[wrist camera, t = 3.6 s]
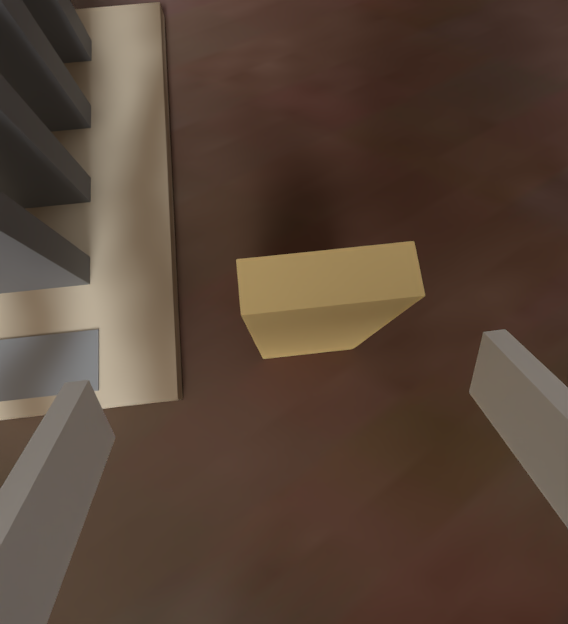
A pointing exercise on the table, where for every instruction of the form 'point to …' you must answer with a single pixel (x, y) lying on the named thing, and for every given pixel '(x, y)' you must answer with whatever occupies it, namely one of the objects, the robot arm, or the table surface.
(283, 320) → the ochre domino
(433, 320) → the table surface
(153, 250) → the birch board
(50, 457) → the robot arm
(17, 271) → the domino
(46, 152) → the domino
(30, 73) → the domino
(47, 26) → the domino
